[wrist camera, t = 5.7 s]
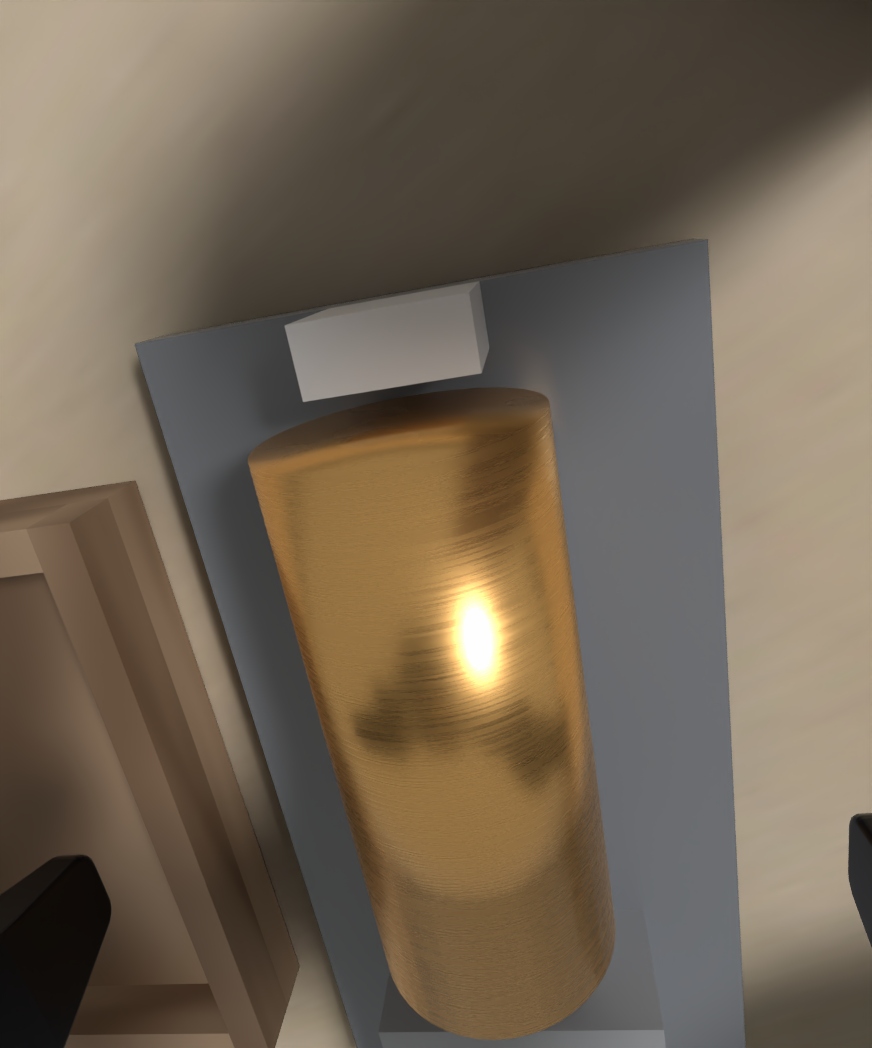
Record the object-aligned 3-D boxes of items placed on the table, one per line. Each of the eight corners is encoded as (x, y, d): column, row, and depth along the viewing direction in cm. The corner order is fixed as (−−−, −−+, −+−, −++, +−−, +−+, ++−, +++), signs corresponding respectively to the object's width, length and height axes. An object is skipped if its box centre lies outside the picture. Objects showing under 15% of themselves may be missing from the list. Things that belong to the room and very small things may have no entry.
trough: (135, 481, 14) (69, 522, 12) (299, 967, 19) (271, 1057, 16) (-181, 527, 15) (-290, 572, 13) (45, 973, 20) (-10, 1058, 18)
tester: (693, 239, 11) (759, 241, 8) (735, 1031, 18) (782, 1210, 14) (162, 336, 13) (41, 370, 10) (373, 1033, 19) (342, 1197, 16)
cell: (544, 373, 11) (556, 443, 8) (605, 854, 15) (634, 1065, 11) (297, 413, 12) (197, 495, 8) (409, 864, 15) (373, 1067, 12)
